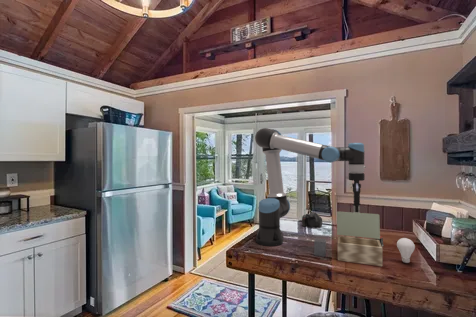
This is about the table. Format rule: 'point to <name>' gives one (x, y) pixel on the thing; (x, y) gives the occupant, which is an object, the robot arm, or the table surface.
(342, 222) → the lid
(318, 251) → the block
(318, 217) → the camera
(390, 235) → the table surface
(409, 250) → the light bulb
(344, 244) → the box
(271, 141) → the robot arm
